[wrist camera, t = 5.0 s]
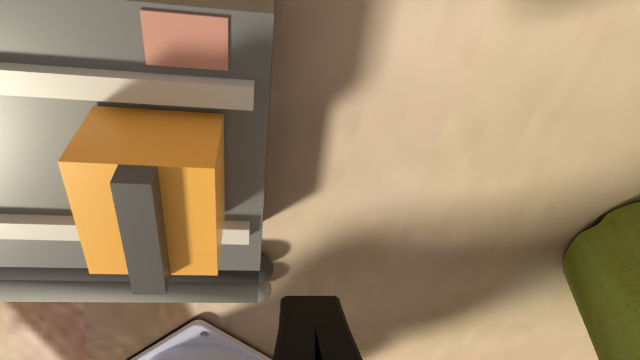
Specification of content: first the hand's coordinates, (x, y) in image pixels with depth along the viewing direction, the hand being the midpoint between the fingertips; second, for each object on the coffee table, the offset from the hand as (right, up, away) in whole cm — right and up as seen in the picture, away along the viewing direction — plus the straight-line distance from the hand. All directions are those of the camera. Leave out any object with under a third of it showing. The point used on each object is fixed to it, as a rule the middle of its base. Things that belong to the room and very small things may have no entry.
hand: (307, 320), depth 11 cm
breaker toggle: (-5, +4, +4) cm, 8 cm away
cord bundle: (-10, -1, +12) cm, 16 cm away
